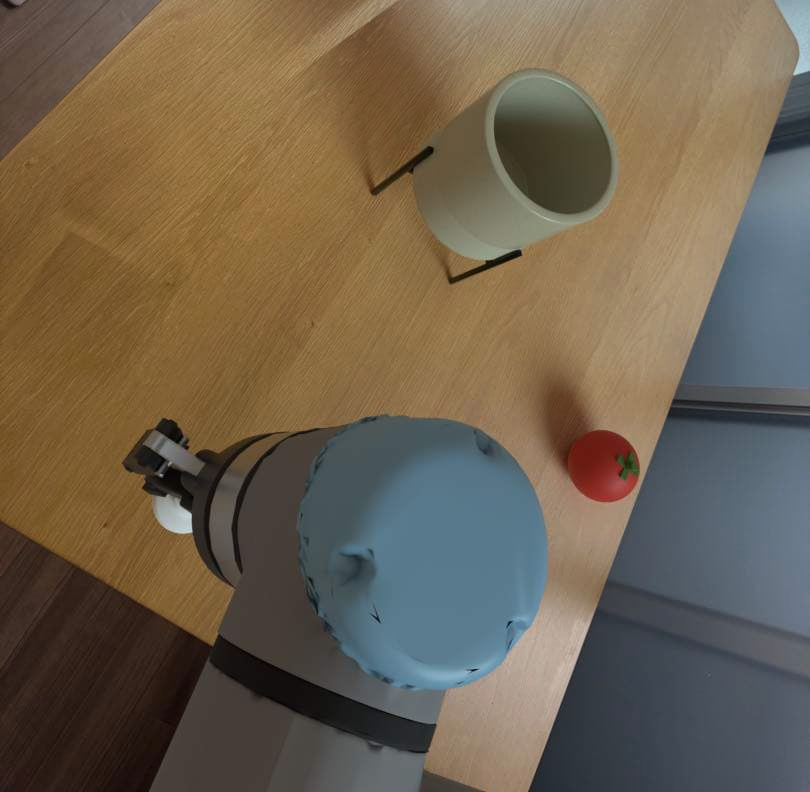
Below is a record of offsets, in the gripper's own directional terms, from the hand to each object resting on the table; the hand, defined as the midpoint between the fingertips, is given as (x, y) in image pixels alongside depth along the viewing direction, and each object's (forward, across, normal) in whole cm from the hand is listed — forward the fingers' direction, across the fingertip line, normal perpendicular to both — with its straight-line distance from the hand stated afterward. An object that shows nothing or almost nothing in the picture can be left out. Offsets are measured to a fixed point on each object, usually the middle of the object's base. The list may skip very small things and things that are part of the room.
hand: (189, 496), depth 54 cm
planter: (+14, -7, -41) cm, 44 cm away
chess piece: (+1, 0, 0) cm, 1 cm away
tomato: (+14, -39, -28) cm, 50 cm away
